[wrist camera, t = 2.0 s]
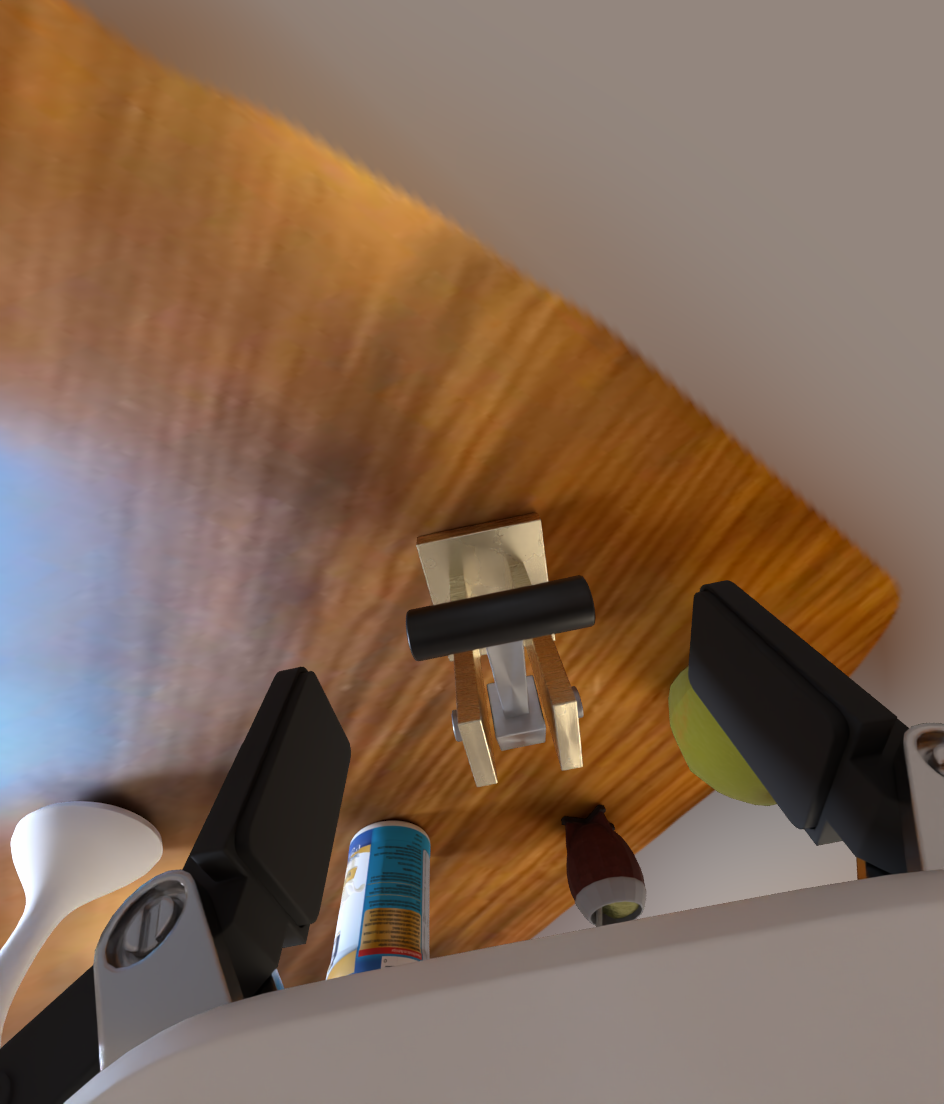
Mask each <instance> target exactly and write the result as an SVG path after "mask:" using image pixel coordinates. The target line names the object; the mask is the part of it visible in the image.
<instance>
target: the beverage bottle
mask: <svg viewBox="0 0 944 1104" xmlns="http://www.w3.org/2000/svg"><path fill="white" fill-rule="evenodd" d="M429 869H430V840H429V837H428V835H427V834H426V832H425V831H424V830H423V829H421V828H420V827H418V826H416V825H414V824H412V823H408V822H404V821H382V822H377V823H374V824H371V825H368V826H366V827H365V828H363V829H361V830H360V831H359V832H358V833H357V834H356V835H355V836H354V838H353V839H352V841H351V844H350V849H349V856H348V864H347V870H346V876H345V882H344V888H343V894H342V900H341V906H340V912H339V917H338V923H337V929H336V935H335V941H334V947H333V952H332V958H331V964H330V966H329V969H328V972H327V977H326V980H328V979H333V978H338V977H342V976H347V975H351V974H356V973H361V972H366V971H372V970H377V969H382V968H387V967H392V966H397V965H402V964H407V963H413V962H418V961H423V960H428V959H430V958H429Z"/></svg>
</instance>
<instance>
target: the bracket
mask: <svg viewBox="0 0 944 1104" xmlns="http://www.w3.org/2000/svg"><path fill="white" fill-rule="evenodd" d="M416 547H417V550H418V554H419V557H420V560H421V564H422V567H423V571H424V574H425V578H426V581H427V585H428V588H429V592H430V595H431V599H432V602H433V605H436V604H441V603H446V602H451V601H456V600H461V599H466V598H471V597H475V596H480V595H485V594H490V593H495V592H500V591H505V590H510V589H515V588H519V587H524V586H529V585H534V584H539V583H544V582H548V573H547V565H546V557H545V548H544V540H543V532H542V523H541V519H540V517H539V515H538V513H531V514H526V515H522V516H517V517H512V518H507V519H502V520H497V521H493V522H488V523H483V524H478V525H473V526H469V527H464V528H459V529H454V530H449V531H444V532H440V533H435V534H430V535H425V536H420V537H417V542H416ZM554 641H555V634H551V635H546V636H541V637H537V638H532V639H527V640H523V644H524V647H525V646H526V649H527V652H528V656H529V659H530V663H531V666H532V670H533V673H534V676H535V680H536V683H537V687H538V690H539V694H540V697H541V701H542V704H543V707H544V711H545V714H546V718H547V721H548V725H549V728H550V732H551V735H552V738H553V742H554V745H555V749H556V752H557V756H558V759H559V763H560V766H561V769H562V770H568V769H573V768H578V767H583V761H582V751H581V741H580V730H579V720H578V718H580V717H583V707H582V703H581V699H580V696H579V693H578V690H577V688H576V687H575V686H572V687H571V685H570V682H569V680H568V677H567V675H566V672H565V669H564V667H563V664H562V662H561V659H560V656H559V654H558V651H557V649H556V646H555V643H554ZM485 654H487V650H486V648H482V649H477V650H472V651H467V652H462V653H457V654H452V655H448V657H449V661H454V671H455V688H456V705H457V710H453V711H452V724H453V730H454V735H455V738H456V740H457V741H458V742H459V741H463V744H464V747H465V750H466V753H467V757H468V760H469V763H470V766H471V770H472V773H473V776H474V780H475V783H476V786H477V787H481V786H486V785H491V784H496V783H497V782H498V781H497V774H496V767H495V760H494V752H493V745H492V738H491V731H490V724H489V717H488V710H487V703H486V695H485V688H484V681H483V674H482V667H481V660H480V655H485Z"/></svg>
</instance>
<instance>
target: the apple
mask: <svg viewBox="0 0 944 1104" xmlns="http://www.w3.org/2000/svg"><path fill="white" fill-rule="evenodd" d="M688 668H689V666H688V667H687V668H686V669H684V670H683V671H682V672H681V673H680V674H679V675H678V677H677V678H676V679H675V681H674V682H673V683H672V685H671V686H670V692H669V698H668V700H669V718H670V727H671V729H672V732H673V735H674V737H675V740H676V742H677V744H678V746H679V748H680V750H681V752H682V754H683V756H684V758H685V760H686V762H687V764H688V767H689V769H690V771H691V772H693V773H694V774H695V775H697V776H698V777H699V778H700V779H702V780H703V781H704V782H706V783H707V784H708V785H710V786H711V787H712V788H713V789H715V790H716V791H717V792H719V793H721V794H724V795H726V796H728V797H730V798H733V799H737V800H740V801H743V802H747V803H751V804H754V805H764V806H770V805H775V804H777V803H776V802H775V800H774V799H773V797H772V796H771V795H770V793H769V792H768V791H767V789H766V788H765V787H764V785H763V784H762V782H761V781H760V780H759V778H758V777H757V776H756V774H755V773H754V772H753V770H752V769H751V768H750V766H749V765H748V763H747V762H746V761H745V759H744V758H743V757H742V755H741V754H740V753H739V751H738V750H737V748H736V747H735V746H734V744H733V743H732V742H731V740H730V739H729V738H728V736H727V735H726V733H725V732H724V731H723V729H722V728H721V727H720V725H719V724H718V723H717V721H716V720H715V719H714V717H713V716H712V714H711V713H710V712H709V710H708V709H707V708H706V706H705V705H704V704H703V702H702V701H701V699H700V698H699V697H698V695H697V694H696V693H695V691H694V690H693V688H692V686H691V684H690V682H689V678H688Z"/></svg>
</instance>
